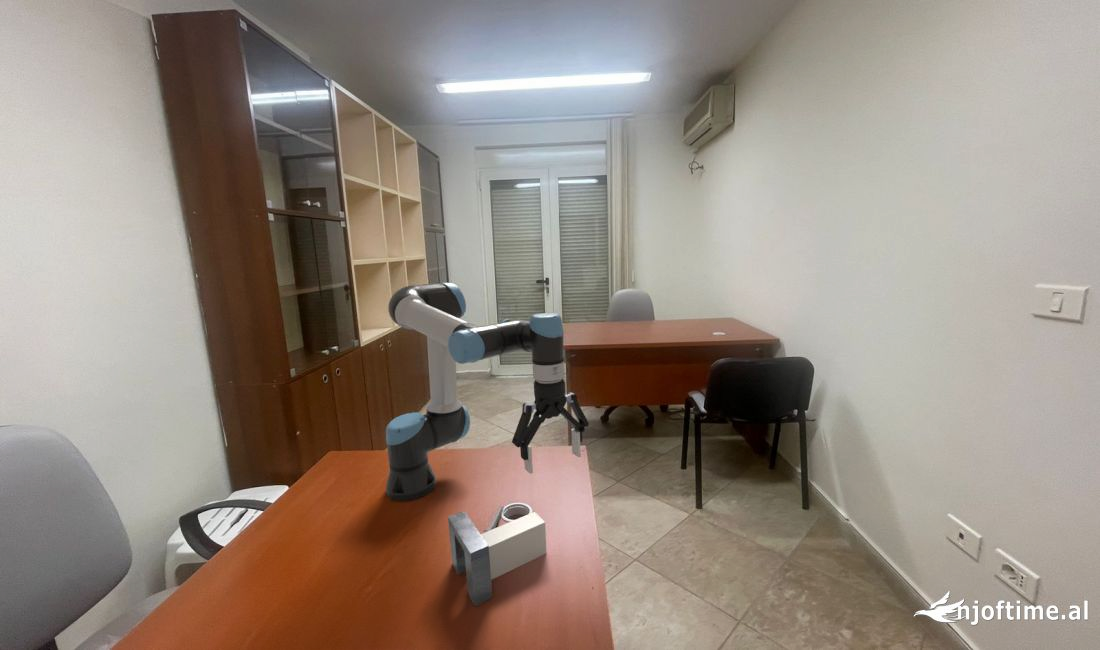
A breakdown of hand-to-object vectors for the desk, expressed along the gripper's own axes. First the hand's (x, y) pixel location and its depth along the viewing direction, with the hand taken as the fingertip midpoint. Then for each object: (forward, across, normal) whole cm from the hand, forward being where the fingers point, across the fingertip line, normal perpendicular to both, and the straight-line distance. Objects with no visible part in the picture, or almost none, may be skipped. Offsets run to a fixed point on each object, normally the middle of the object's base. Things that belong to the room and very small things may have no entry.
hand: (553, 462), depth 100 cm
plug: (+22, -12, +1) cm, 25 cm away
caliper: (+22, -12, +13) cm, 28 cm away
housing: (+22, -23, 0) cm, 31 cm away
